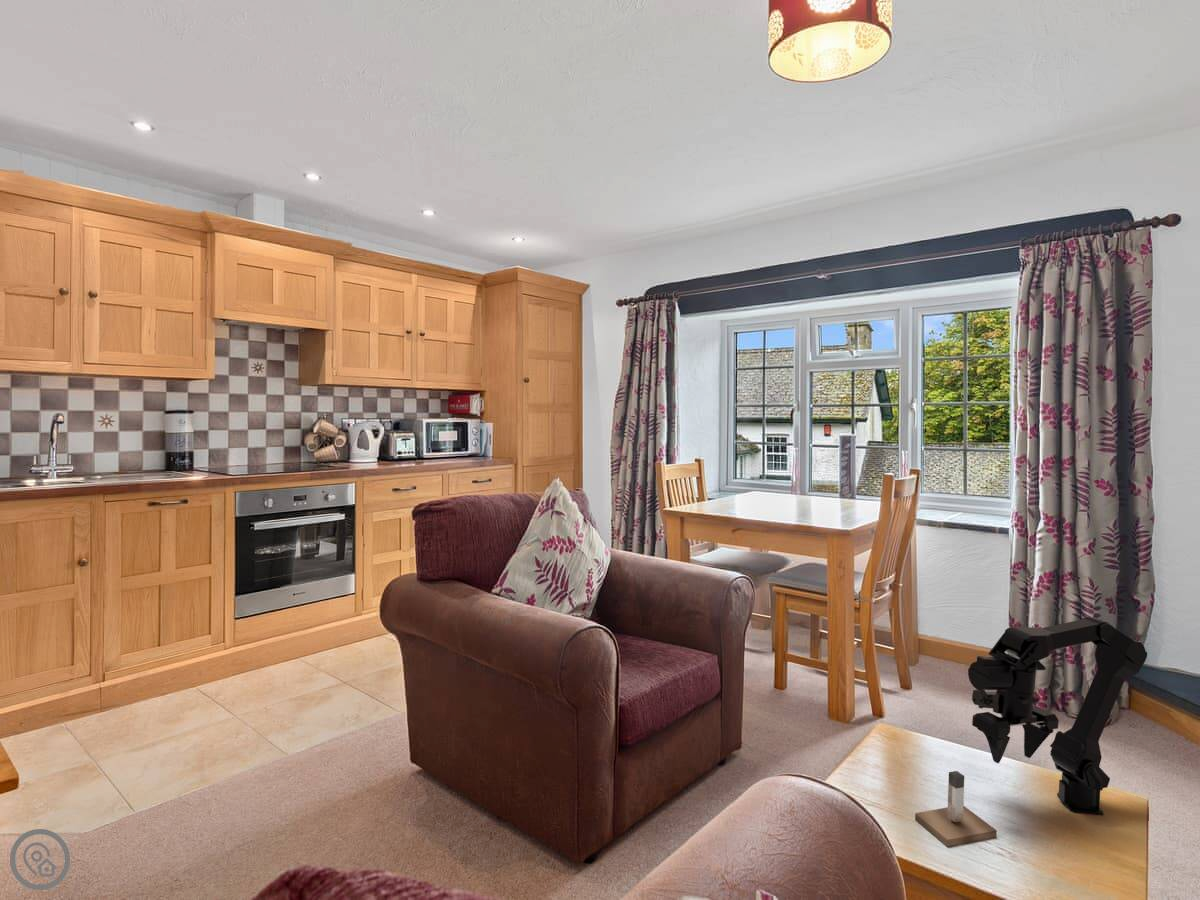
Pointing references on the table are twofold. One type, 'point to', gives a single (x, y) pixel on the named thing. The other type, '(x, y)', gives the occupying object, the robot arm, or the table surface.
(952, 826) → the stand
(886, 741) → the table surface
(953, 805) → the arm
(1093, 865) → the table surface
